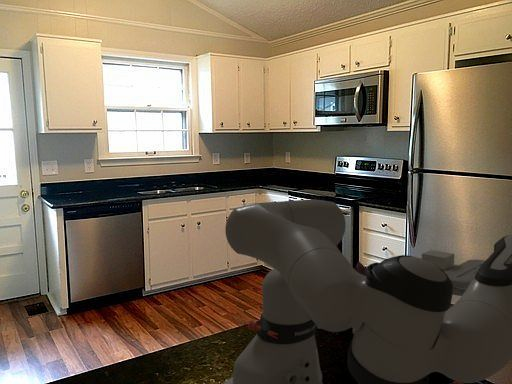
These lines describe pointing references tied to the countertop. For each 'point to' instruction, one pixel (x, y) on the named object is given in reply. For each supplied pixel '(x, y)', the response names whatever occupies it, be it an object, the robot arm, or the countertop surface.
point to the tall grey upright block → (439, 259)
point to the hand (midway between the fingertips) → (434, 270)
